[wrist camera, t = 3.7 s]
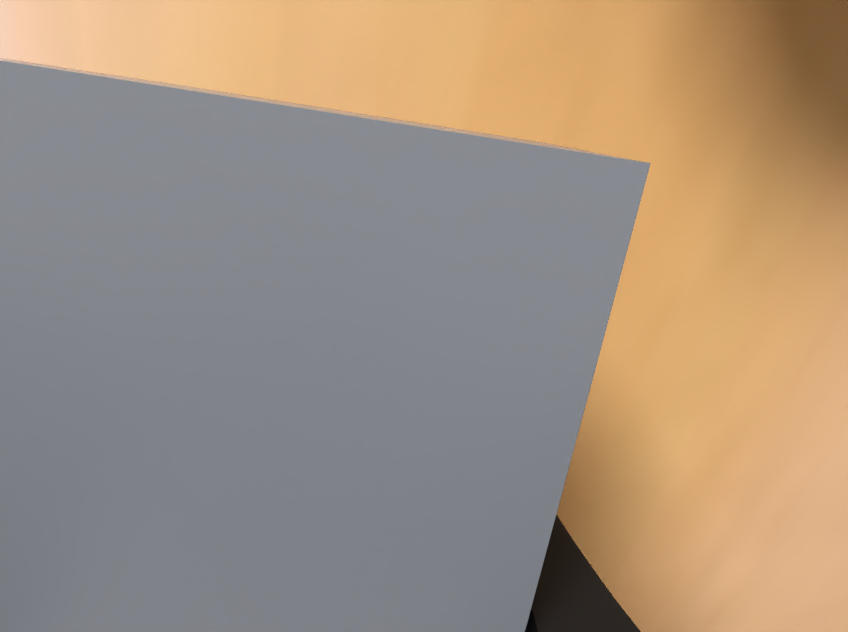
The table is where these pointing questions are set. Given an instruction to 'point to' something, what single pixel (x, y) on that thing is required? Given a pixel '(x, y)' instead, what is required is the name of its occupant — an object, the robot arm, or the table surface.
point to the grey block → (286, 359)
